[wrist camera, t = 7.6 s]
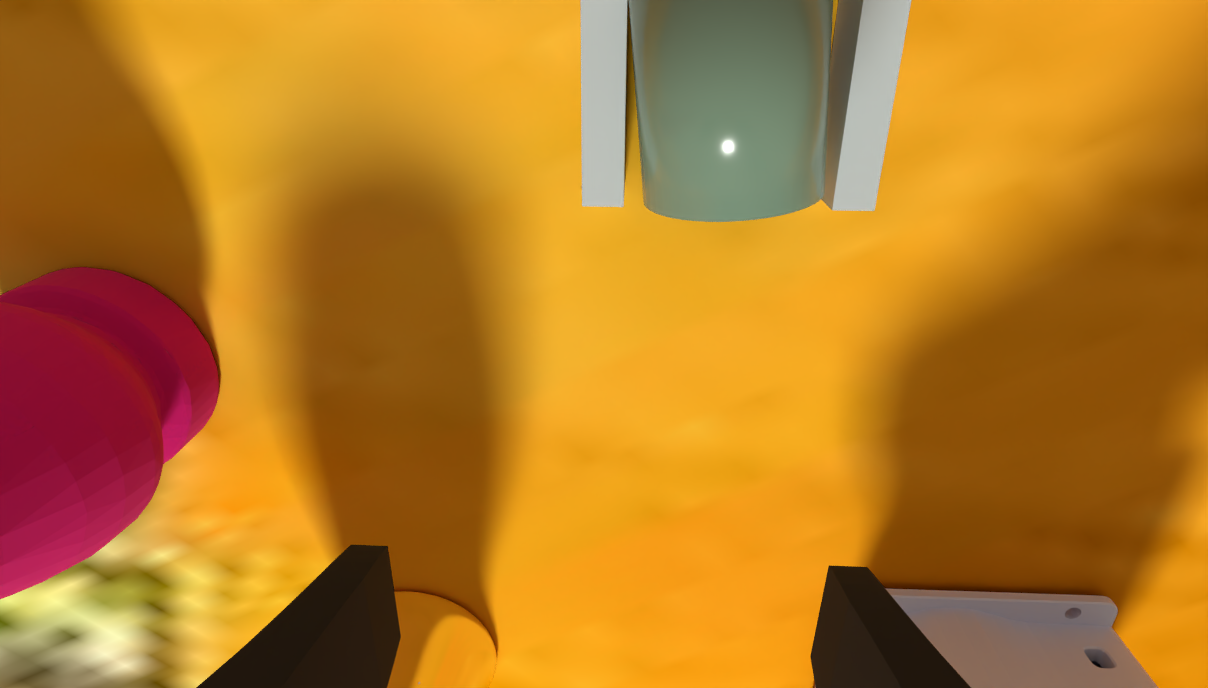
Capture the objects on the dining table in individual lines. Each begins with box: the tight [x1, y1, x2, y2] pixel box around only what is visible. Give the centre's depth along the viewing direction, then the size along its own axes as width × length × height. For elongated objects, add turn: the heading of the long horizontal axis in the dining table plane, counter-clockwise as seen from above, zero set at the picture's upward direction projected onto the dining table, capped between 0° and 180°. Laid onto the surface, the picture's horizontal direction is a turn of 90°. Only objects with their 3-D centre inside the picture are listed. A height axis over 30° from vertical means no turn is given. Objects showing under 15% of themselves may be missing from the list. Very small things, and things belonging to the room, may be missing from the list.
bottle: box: [629, 0, 833, 222], centre depth 15 cm, size 4×4×8 cm
